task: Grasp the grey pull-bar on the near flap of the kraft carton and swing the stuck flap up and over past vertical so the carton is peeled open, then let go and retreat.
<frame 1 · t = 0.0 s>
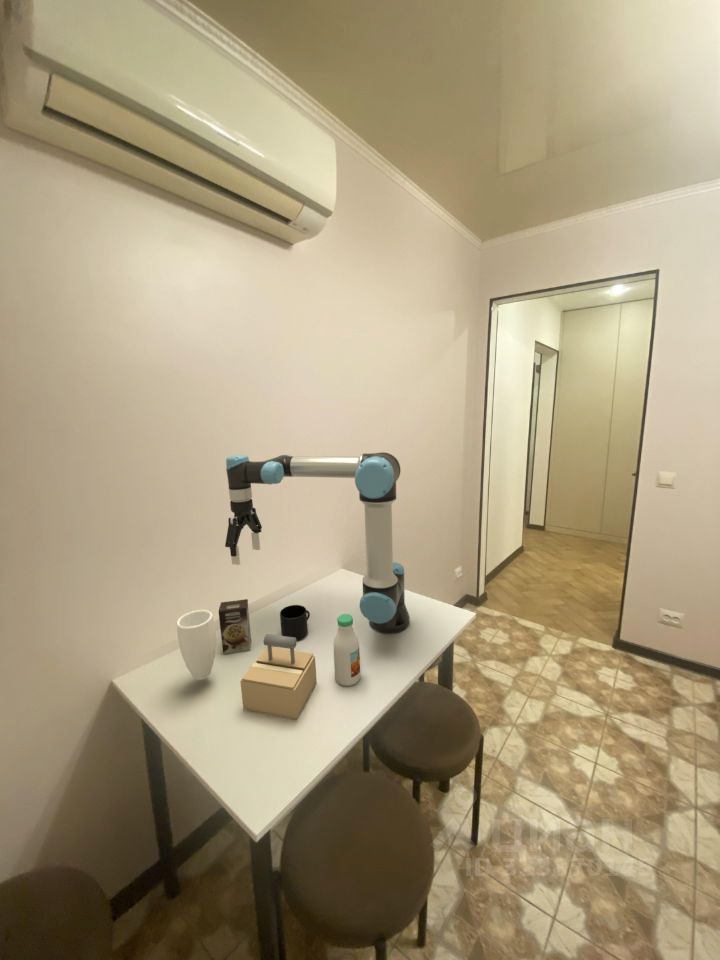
hand: (246, 556, 139), 28 cm above the table, fingers open, 13 cm apart
coffee box: (237, 647, 133), on the table
cup: (203, 683, 116), on the table
milk bottle: (347, 678, 117), on the table
flap near: (283, 645, 111), point 13 cm above the table, hinge at 0.0°
carton: (281, 695, 110), on the table
mug: (297, 633, 140), on the table
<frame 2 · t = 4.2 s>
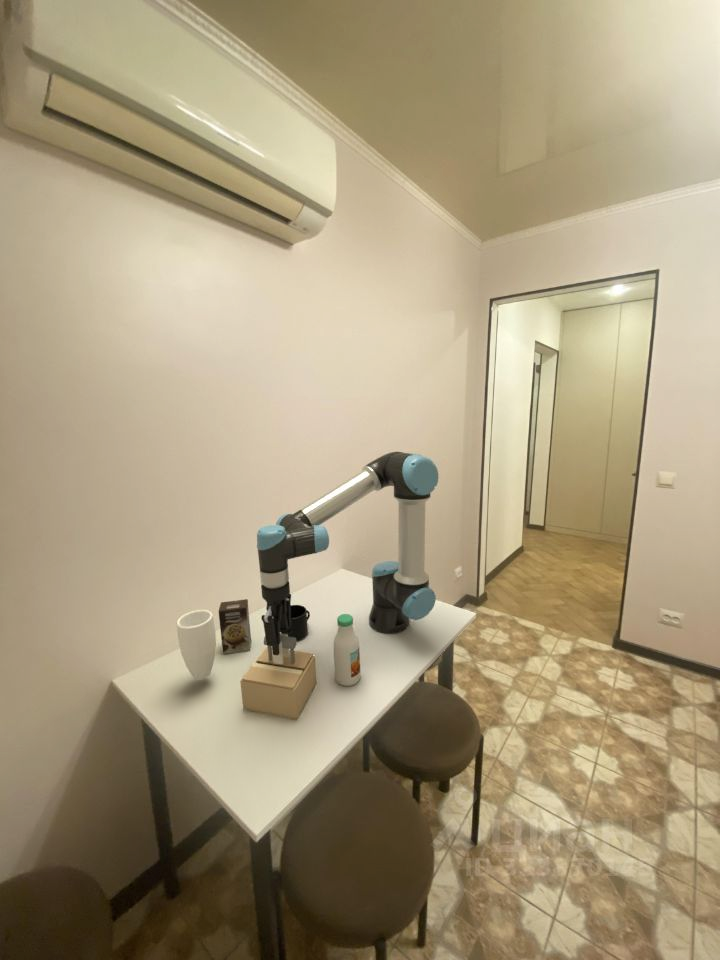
hand: (281, 658, 110), 11 cm above the table, fingers closed on flap near, 3 cm apart
flap near: (283, 645, 111), point 13 cm above the table, hinge at 0.0°, touching gripper
everything else where it was.
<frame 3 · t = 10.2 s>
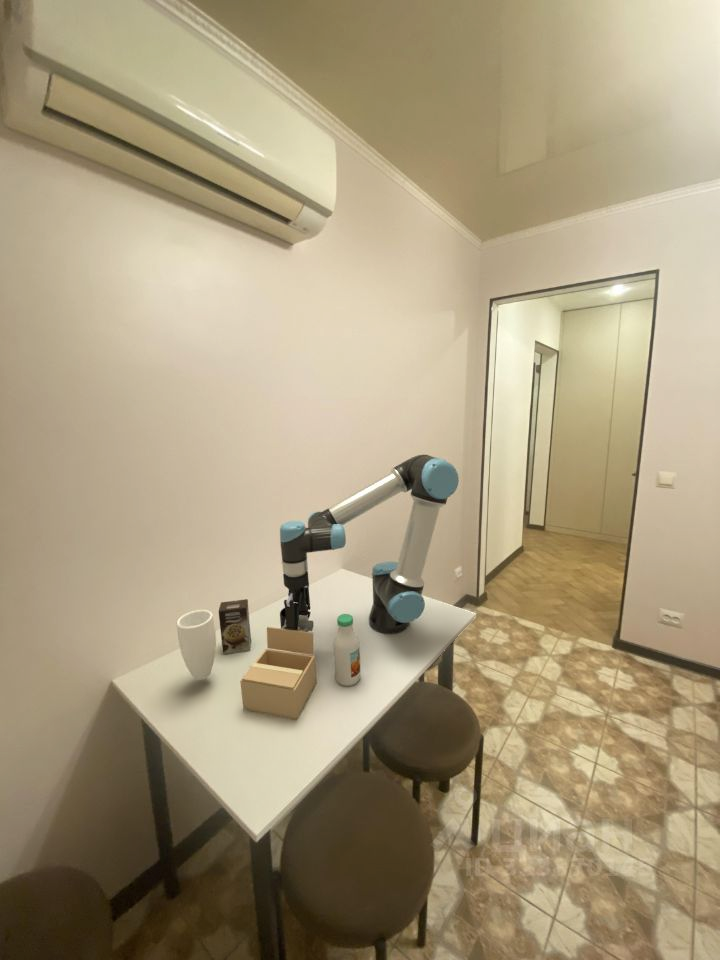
hand: (300, 639, 122), 8 cm above the table, fingers open, 6 cm apart
flap near: (295, 634, 119), point 12 cm above the table, hinge at 96.3°, touching gripper, hand
everything else where it was.
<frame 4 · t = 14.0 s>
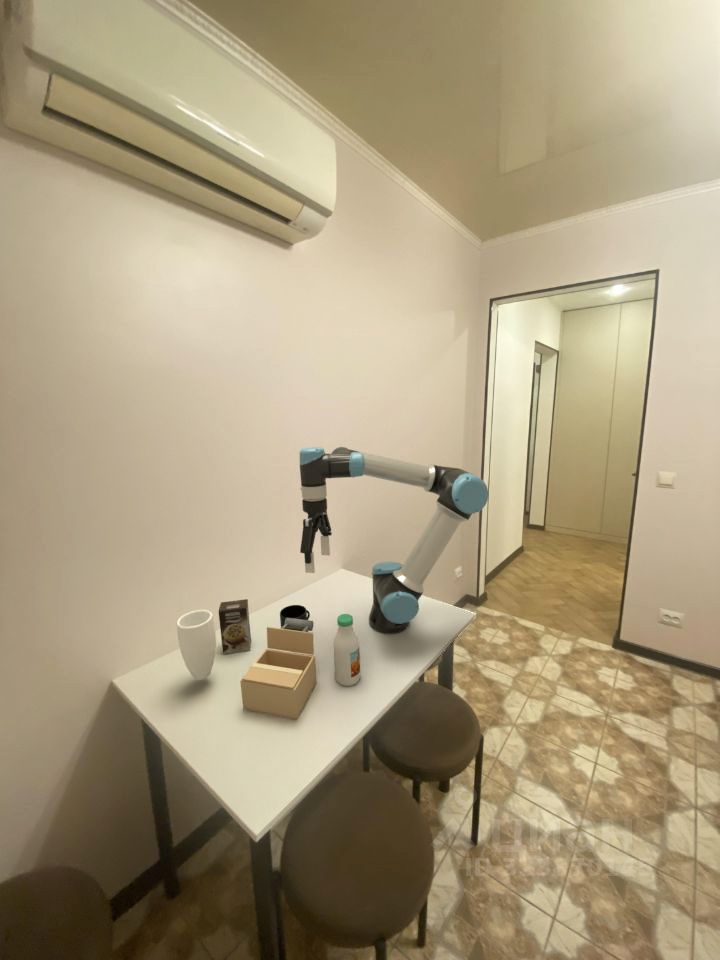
hand: (318, 563, 122), 32 cm above the table, fingers open, 13 cm apart
flap near: (295, 634, 119), point 12 cm above the table, hinge at 96.2°
everything else where it was.
at the end: flap near at +96° (first picture: +0°); the gripper is holding nothing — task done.
